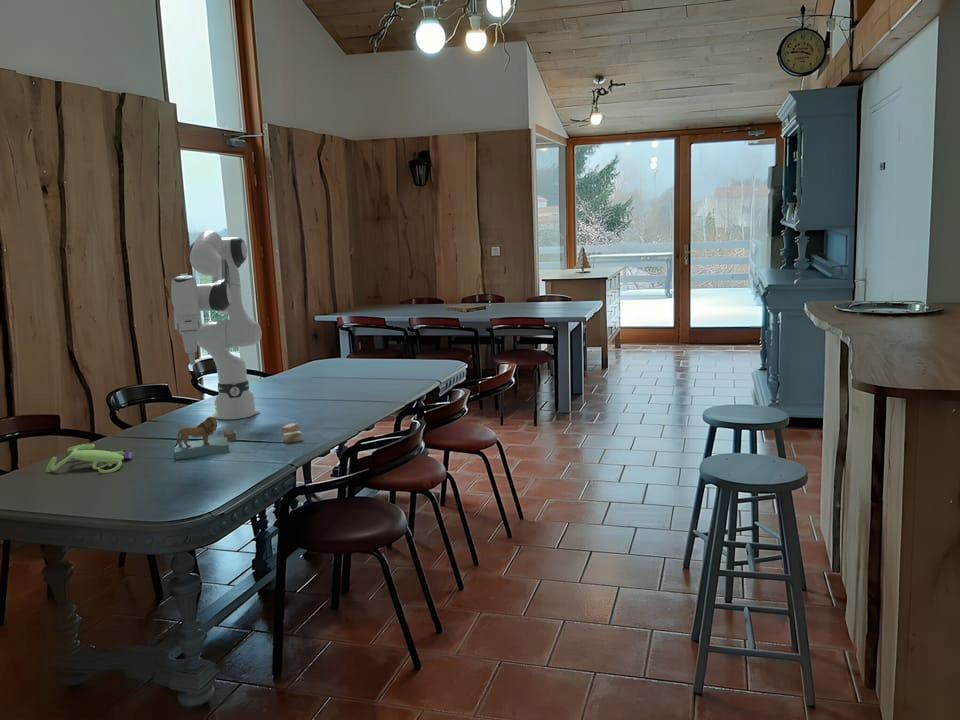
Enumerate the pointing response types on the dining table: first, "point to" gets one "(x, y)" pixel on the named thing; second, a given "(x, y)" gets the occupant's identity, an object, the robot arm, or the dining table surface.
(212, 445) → the teal slab
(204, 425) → the lion figurine
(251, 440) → the dining table surface
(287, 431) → the terracotta brick
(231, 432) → the walnut brick
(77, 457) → the figurine
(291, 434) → the oak brick
